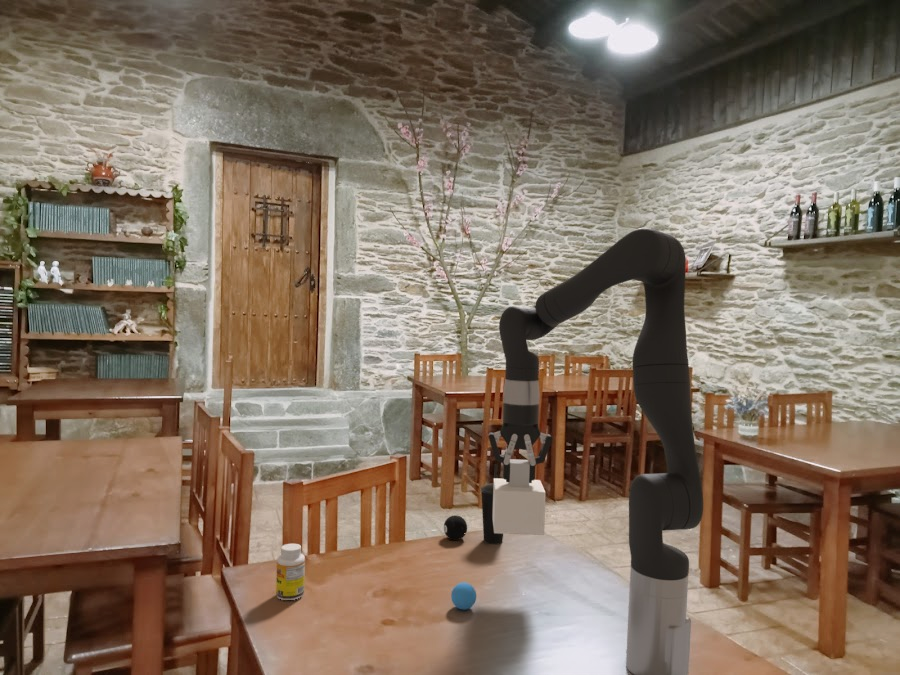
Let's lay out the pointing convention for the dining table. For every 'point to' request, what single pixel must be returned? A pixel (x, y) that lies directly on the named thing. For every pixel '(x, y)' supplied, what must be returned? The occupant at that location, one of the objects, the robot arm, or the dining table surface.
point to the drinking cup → (489, 514)
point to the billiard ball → (455, 527)
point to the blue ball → (463, 596)
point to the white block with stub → (518, 502)
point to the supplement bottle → (290, 572)
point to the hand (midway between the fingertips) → (518, 481)
